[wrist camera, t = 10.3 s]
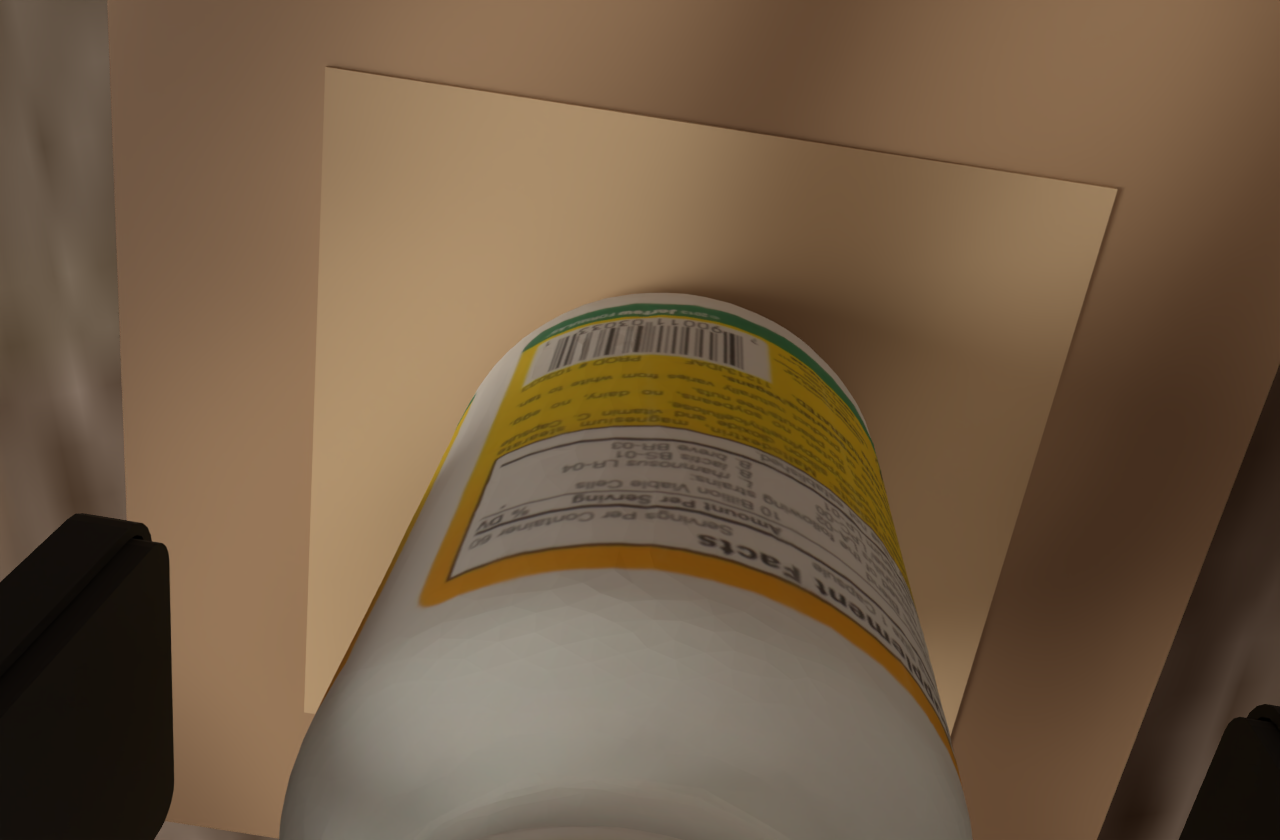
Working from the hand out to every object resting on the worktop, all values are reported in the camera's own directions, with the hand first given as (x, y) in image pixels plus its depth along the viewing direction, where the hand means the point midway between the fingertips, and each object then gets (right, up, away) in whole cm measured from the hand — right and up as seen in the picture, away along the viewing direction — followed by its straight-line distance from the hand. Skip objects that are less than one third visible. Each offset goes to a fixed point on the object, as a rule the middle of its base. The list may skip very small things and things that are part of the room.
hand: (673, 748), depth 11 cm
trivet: (0, +3, +6) cm, 7 cm away
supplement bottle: (0, +2, +5) cm, 5 cm away
